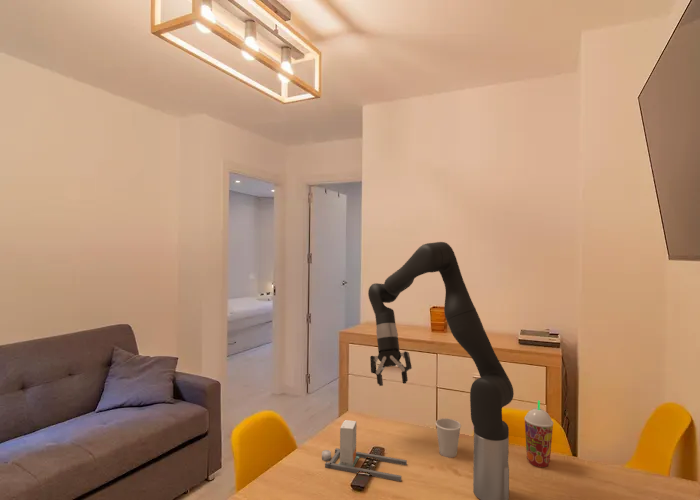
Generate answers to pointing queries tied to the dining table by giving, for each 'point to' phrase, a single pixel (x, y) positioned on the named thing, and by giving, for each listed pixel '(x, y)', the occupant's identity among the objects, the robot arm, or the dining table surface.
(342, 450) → the skincare box
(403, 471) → the dining table surface
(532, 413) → the smoothie
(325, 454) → the guide channel
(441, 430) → the dixie cup
